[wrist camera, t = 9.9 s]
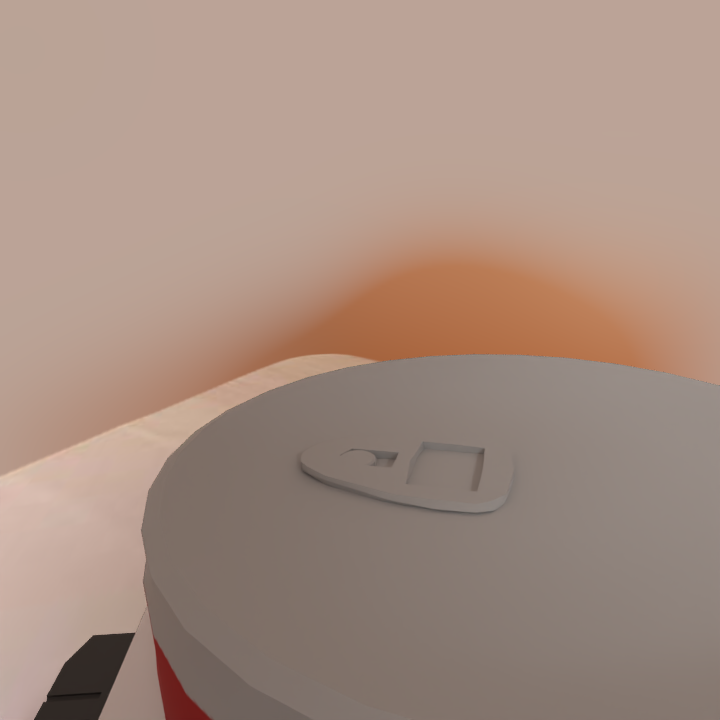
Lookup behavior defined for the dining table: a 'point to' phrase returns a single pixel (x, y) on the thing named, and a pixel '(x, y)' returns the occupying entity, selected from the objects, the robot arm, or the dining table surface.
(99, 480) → the dining table surface
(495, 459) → the canned food
